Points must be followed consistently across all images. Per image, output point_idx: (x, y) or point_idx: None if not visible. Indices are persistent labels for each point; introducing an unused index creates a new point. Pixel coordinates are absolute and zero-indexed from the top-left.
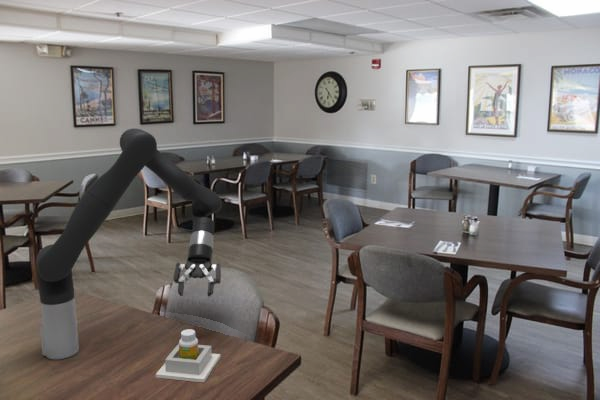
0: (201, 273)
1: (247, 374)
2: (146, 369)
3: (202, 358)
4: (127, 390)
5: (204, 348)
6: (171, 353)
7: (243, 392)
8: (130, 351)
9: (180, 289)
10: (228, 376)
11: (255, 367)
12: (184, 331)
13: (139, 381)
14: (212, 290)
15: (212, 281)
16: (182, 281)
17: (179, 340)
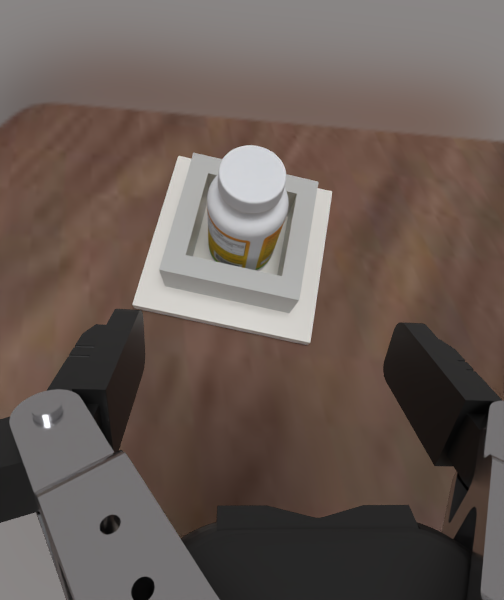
0: (230, 549)
1: (37, 195)
2: (372, 242)
3: (185, 180)
4: (382, 146)
5: (186, 251)
6: (307, 220)
7: (58, 111)
8: (473, 361)
9: (434, 343)
10: (103, 189)
11: (3, 235)
12: (272, 180)
13: (368, 182)
14: (80, 338)
15: (37, 397)
16: (483, 418)
17: (287, 198)
